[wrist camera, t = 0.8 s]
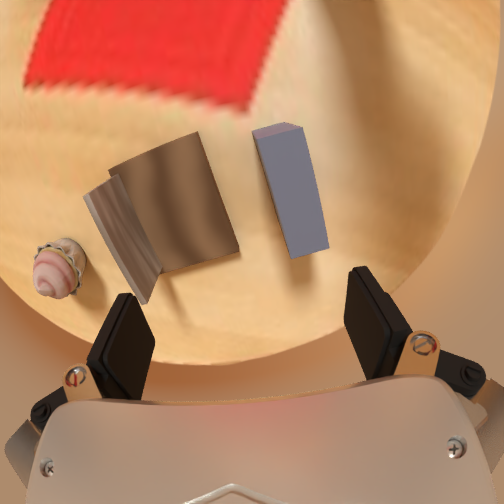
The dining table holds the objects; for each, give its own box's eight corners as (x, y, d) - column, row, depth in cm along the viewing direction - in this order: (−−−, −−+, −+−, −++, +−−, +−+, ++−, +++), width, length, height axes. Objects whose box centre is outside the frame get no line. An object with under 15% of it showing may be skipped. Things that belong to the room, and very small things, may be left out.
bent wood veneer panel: (197, 131, 30) (181, 139, 22) (239, 245, 38) (239, 288, 29) (112, 167, 31) (76, 189, 23) (160, 268, 39) (143, 311, 31)
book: (284, 122, 30) (302, 127, 21) (307, 211, 36) (329, 248, 27) (251, 130, 30) (256, 139, 22) (278, 220, 36) (291, 259, 27)
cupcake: (100, 245, 37) (70, 284, 28) (88, 288, 40) (63, 328, 31) (53, 217, 34) (16, 249, 25) (46, 262, 38) (15, 297, 29)
